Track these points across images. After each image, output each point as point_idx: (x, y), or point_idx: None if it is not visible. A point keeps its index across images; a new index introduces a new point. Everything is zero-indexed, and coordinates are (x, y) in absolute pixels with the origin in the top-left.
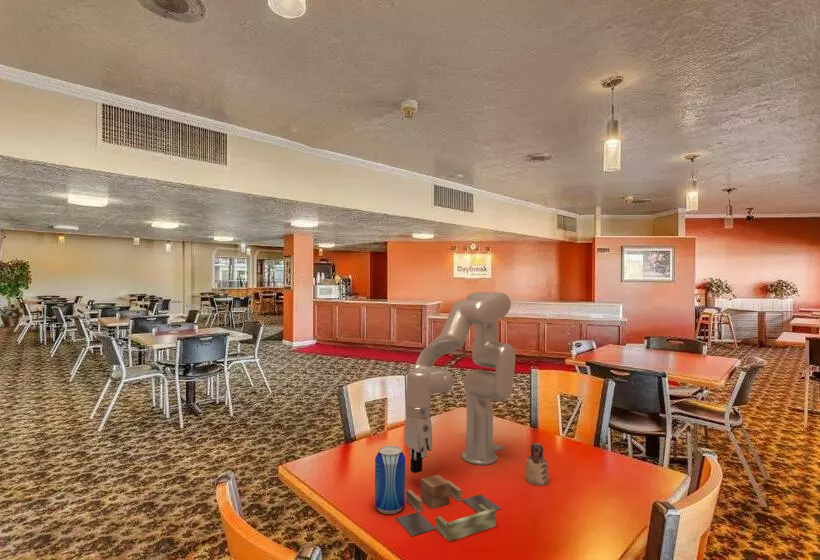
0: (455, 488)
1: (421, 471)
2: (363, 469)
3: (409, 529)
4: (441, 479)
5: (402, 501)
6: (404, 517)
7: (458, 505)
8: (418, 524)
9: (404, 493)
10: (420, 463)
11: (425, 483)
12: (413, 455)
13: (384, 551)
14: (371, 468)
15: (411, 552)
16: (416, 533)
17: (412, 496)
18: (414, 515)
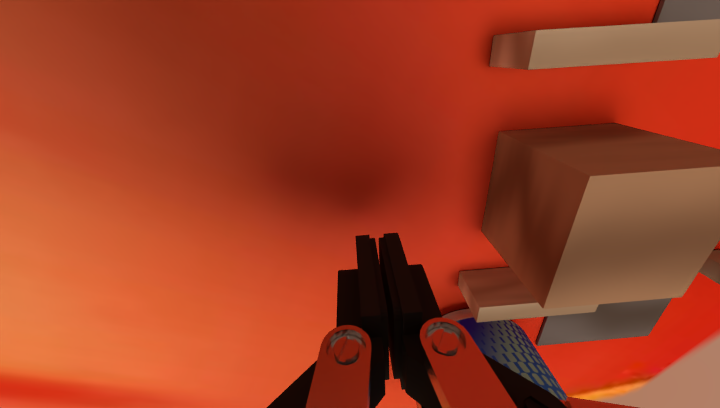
0: (677, 57)
1: (395, 233)
2: (90, 344)
3: (618, 332)
4: (669, 193)
5: (538, 353)
6: (553, 325)
7: (666, 82)
8: (622, 304)
9: (546, 369)
10: (436, 307)
11: (598, 299)
12: (374, 405)
13: (628, 390)
14: (77, 316)
15: (689, 351)
16: (651, 323)
17: (535, 314)
18: None
